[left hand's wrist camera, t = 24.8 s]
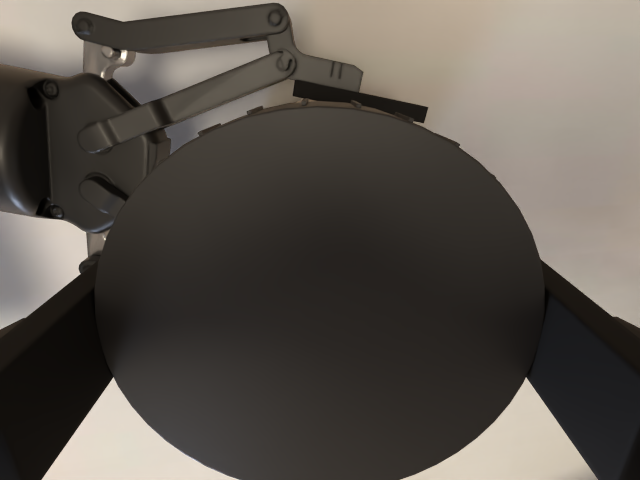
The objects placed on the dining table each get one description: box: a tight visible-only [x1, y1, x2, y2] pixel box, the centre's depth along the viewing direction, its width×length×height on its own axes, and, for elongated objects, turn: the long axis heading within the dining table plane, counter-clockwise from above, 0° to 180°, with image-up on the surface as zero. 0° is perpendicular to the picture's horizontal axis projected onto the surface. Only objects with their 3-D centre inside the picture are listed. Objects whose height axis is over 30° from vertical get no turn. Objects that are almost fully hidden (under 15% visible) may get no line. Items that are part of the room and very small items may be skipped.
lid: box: [94, 98, 545, 480], centre depth 11 cm, size 11×11×2 cm
